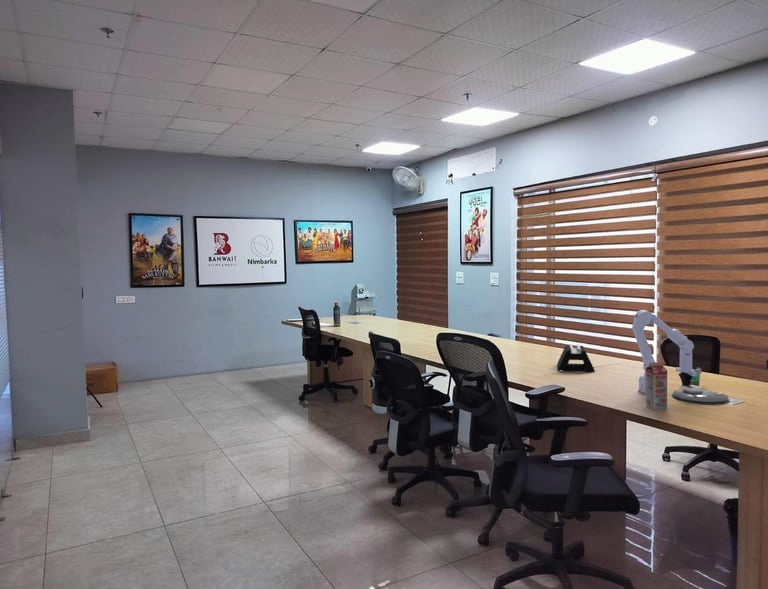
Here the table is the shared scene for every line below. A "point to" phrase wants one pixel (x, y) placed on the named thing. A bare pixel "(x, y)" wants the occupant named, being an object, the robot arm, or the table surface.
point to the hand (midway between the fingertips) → (685, 387)
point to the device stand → (574, 354)
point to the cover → (692, 389)
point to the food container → (695, 377)
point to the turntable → (701, 396)
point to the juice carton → (656, 386)
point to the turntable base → (700, 402)
